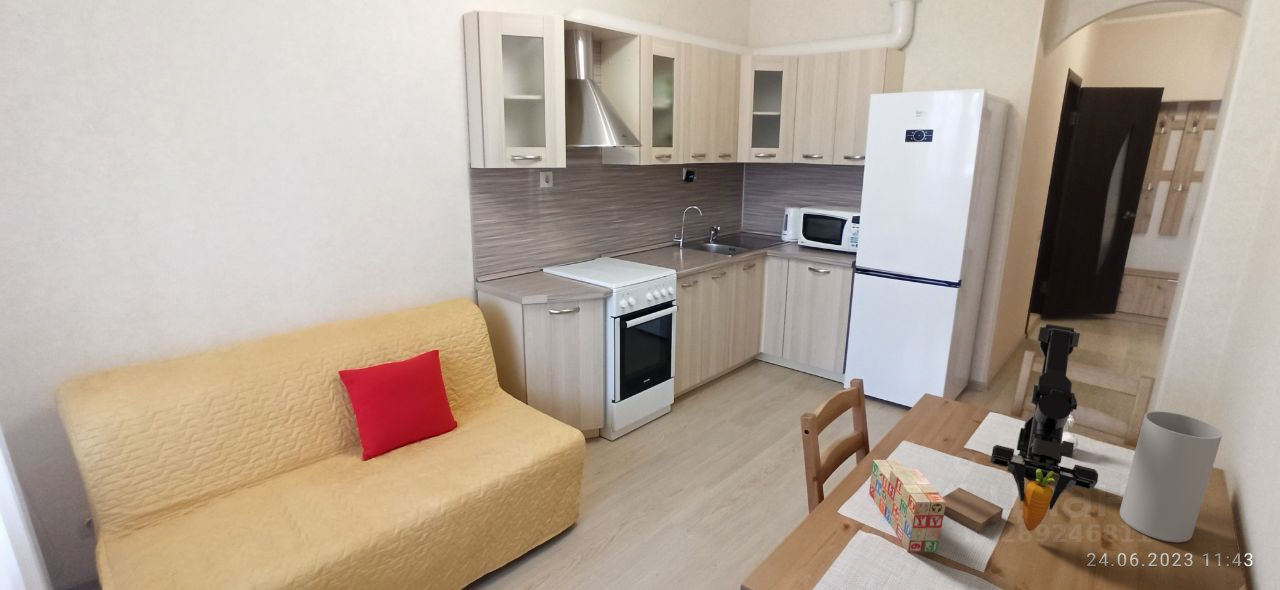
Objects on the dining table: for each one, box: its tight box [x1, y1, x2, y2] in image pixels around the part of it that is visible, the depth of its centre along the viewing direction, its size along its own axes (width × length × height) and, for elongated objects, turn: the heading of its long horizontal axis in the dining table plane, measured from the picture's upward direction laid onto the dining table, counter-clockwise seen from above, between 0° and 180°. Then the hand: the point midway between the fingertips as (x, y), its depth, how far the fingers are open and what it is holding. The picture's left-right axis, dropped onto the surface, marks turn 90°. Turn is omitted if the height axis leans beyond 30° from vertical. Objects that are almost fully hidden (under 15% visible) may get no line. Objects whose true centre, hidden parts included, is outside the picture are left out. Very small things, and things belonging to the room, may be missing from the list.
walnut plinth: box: [941, 487, 1004, 535], centre depth 136 cm, size 10×10×2 cm
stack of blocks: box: [868, 459, 946, 553], centre depth 132 cm, size 21×6×12 cm, turn 1°
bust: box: [1062, 414, 1079, 451], centre depth 167 cm, size 12×8×11 cm
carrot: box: [1022, 469, 1056, 532], centre depth 126 cm, size 5×5×15 cm
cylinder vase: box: [1119, 410, 1223, 543], centre depth 131 cm, size 12×12×25 cm
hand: (1036, 505), depth 125 cm, fingers closed on carrot, 5 cm apart
